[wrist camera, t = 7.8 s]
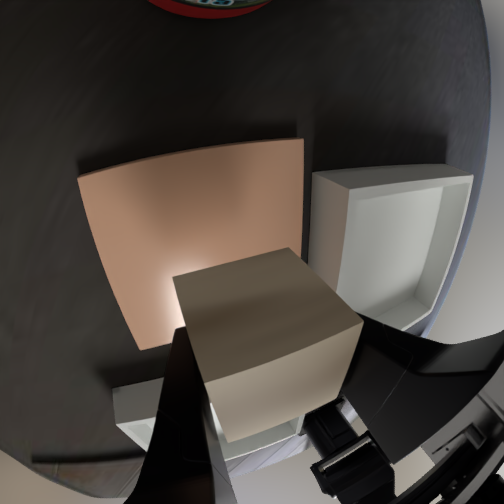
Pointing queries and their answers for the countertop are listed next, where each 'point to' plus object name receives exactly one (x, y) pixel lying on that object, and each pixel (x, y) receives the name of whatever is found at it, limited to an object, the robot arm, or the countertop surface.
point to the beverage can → (210, 7)
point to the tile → (190, 221)
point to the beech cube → (266, 339)
